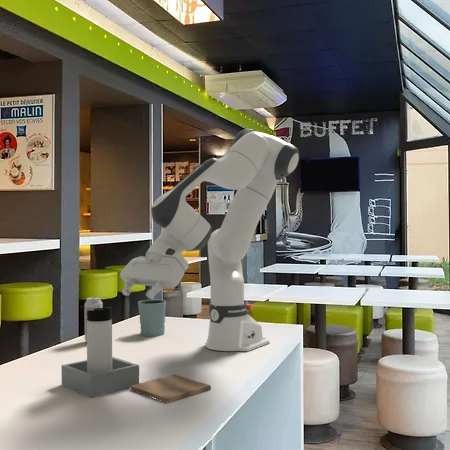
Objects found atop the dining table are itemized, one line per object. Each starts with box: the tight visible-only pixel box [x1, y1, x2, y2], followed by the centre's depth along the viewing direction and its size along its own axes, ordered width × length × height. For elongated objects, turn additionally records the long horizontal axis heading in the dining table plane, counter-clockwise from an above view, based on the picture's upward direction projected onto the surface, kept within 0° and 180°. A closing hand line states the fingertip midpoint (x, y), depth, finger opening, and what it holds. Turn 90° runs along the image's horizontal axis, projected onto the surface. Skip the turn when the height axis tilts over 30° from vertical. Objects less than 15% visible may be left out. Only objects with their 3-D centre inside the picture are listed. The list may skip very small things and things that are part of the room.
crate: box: [61, 356, 140, 398], centre depth 141 cm, size 14×14×5 cm
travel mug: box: [86, 306, 113, 375], centre depth 141 cm, size 6×7×20 cm
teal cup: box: [137, 298, 167, 337], centre depth 202 cm, size 10×10×12 cm
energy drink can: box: [84, 296, 104, 343], centre depth 189 cm, size 6×6×15 cm
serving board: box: [130, 374, 212, 404], centre depth 136 cm, size 14×14×1 cm
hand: (136, 295), depth 150 cm, fingers open, 8 cm apart
